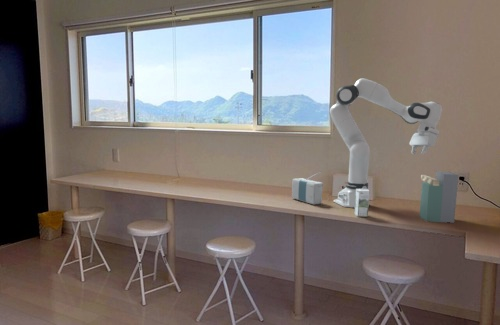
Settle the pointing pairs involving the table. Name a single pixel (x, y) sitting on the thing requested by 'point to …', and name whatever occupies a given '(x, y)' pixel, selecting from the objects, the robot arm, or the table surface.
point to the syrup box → (362, 202)
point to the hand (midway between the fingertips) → (417, 153)
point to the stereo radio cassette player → (307, 190)
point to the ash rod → (430, 180)
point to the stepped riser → (439, 198)
